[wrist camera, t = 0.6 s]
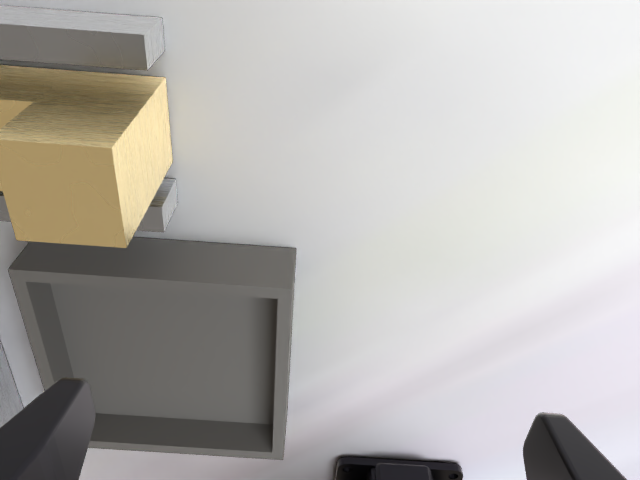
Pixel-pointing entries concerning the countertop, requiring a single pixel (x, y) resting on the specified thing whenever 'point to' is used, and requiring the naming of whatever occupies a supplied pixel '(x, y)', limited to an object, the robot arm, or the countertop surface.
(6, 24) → the key guide
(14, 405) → the socket collar
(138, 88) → the tan boxy piece
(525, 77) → the countertop surface
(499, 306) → the countertop surface
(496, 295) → the countertop surface
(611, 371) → the countertop surface
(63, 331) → the gray square tray
